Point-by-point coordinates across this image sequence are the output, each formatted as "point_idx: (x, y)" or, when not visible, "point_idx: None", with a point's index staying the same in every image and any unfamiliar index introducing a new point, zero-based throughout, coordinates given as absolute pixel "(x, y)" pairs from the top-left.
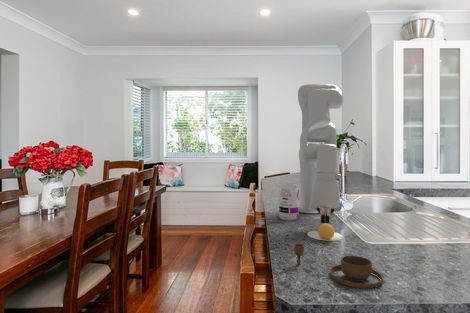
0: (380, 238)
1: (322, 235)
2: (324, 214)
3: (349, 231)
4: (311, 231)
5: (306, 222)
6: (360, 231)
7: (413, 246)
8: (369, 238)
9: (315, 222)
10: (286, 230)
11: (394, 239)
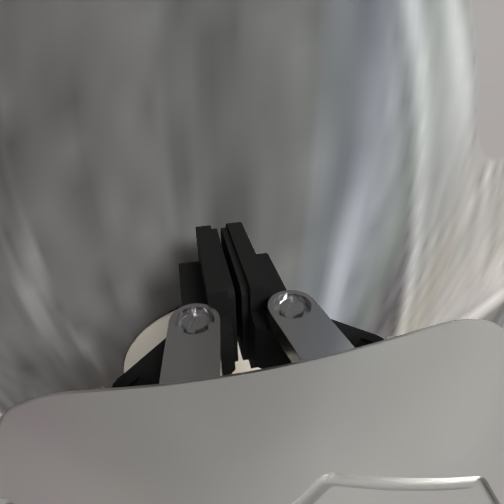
0: (469, 287)
1: None
2: (234, 364)
3: (391, 225)
4: (133, 351)
5: (16, 59)
6: (448, 199)
7: (496, 320)
8: (432, 310)
9: (102, 5)
10: (4, 361)
11: (499, 275)
